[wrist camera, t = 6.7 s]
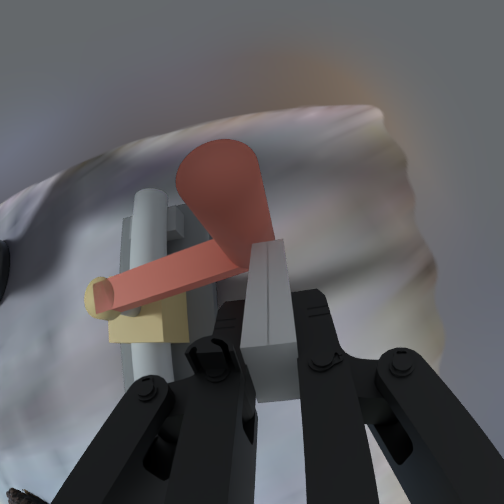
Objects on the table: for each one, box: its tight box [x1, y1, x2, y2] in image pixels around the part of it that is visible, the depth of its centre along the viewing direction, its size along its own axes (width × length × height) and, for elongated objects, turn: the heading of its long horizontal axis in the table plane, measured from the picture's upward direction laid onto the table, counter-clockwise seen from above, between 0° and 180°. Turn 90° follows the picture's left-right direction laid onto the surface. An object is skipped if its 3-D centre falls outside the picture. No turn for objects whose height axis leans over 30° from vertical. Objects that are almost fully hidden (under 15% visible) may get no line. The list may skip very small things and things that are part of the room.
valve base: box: [108, 188, 218, 393], centre depth 24 cm, size 12×26×11 cm, turn 7°
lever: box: [84, 139, 275, 321], centre depth 14 cm, size 15×3×9 cm, turn 107°
